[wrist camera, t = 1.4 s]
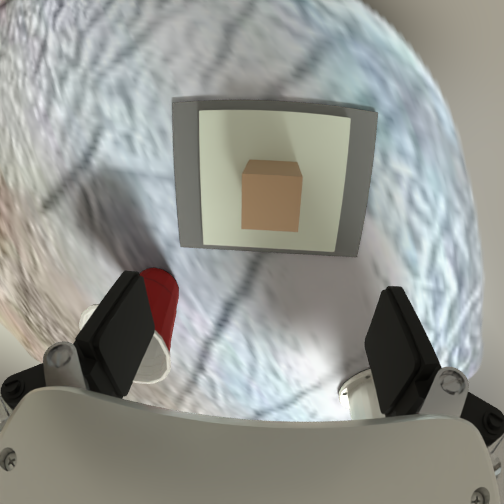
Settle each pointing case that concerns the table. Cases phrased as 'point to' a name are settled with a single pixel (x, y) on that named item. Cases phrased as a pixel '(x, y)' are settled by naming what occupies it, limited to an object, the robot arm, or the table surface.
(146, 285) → the plastic cup
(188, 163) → the mat
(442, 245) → the table surface
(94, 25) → the table surface
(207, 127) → the lid
